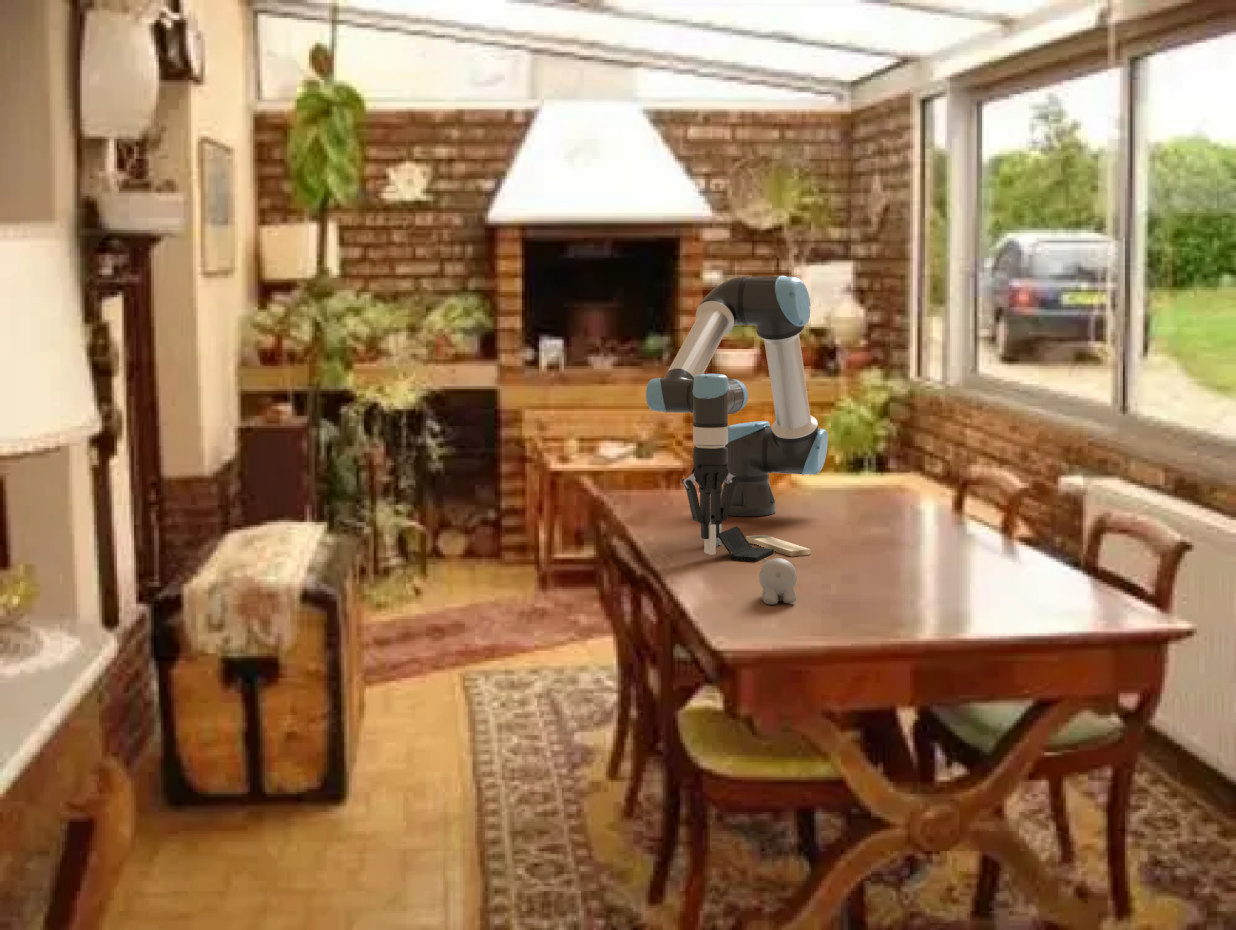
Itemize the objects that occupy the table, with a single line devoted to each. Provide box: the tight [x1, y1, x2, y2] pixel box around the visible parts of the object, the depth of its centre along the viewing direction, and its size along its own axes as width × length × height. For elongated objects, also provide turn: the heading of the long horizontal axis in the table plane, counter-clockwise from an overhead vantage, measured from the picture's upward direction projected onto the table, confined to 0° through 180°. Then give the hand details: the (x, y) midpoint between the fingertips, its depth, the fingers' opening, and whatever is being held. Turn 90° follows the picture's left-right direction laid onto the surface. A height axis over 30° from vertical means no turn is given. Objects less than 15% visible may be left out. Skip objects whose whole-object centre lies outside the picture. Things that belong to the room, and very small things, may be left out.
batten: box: [745, 534, 811, 558], centre depth 348 cm, size 5×20×1 cm, turn 25°
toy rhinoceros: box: [758, 557, 798, 606], centre depth 296 cm, size 7×12×8 cm, turn 3°
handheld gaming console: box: [719, 525, 775, 563], centre depth 339 cm, size 12×7×10 cm
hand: (710, 553), depth 336 cm, fingers closed
